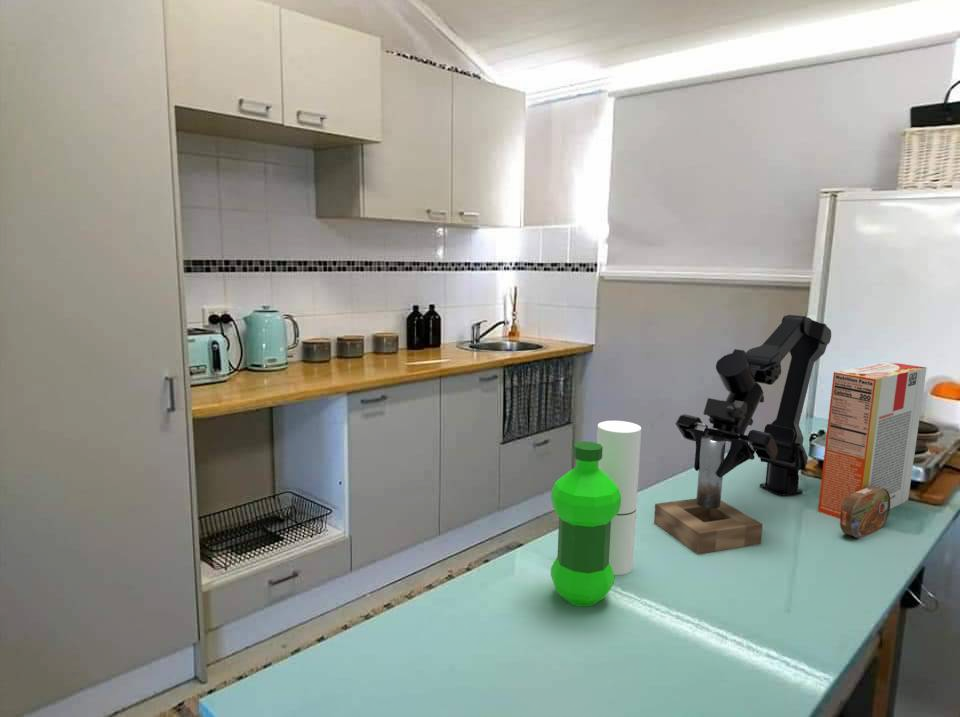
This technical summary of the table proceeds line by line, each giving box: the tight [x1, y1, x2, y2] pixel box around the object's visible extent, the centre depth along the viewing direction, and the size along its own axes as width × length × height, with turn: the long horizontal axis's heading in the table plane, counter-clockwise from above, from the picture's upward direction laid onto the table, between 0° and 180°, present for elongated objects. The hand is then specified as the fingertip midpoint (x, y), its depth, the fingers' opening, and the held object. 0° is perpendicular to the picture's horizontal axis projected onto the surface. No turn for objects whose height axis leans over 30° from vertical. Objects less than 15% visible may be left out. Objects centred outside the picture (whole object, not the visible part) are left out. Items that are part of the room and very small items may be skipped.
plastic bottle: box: [550, 441, 621, 608], centre depth 101 cm, size 10×10×25 cm
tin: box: [839, 486, 891, 539], centre depth 129 cm, size 15×3×8 cm, turn 124°
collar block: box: [653, 497, 764, 555], centre depth 127 cm, size 14×14×4 cm
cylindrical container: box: [596, 420, 642, 576], centre depth 112 cm, size 7×7×25 cm
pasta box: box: [817, 361, 928, 520], centre depth 139 cm, size 23×8×30 cm, turn 125°
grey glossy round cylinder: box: [695, 436, 727, 508], centre depth 125 cm, size 4×4×13 cm
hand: (707, 472), depth 124 cm, fingers closed on grey glossy round cylinder, 4 cm apart
